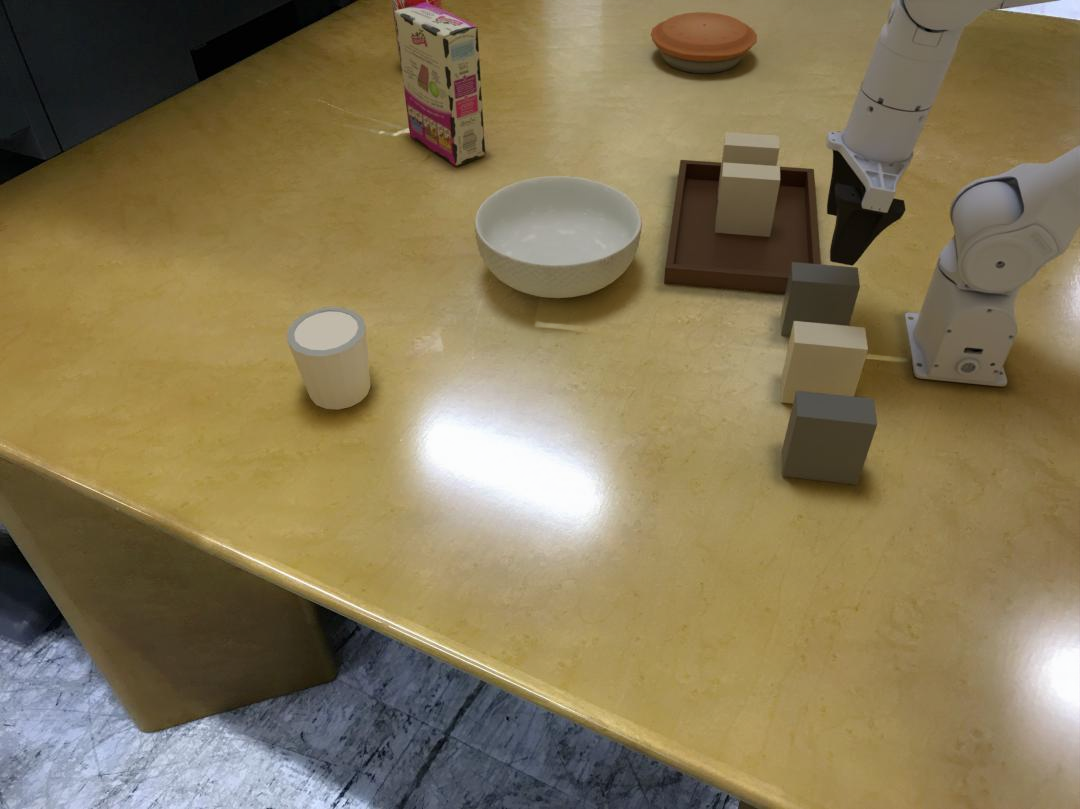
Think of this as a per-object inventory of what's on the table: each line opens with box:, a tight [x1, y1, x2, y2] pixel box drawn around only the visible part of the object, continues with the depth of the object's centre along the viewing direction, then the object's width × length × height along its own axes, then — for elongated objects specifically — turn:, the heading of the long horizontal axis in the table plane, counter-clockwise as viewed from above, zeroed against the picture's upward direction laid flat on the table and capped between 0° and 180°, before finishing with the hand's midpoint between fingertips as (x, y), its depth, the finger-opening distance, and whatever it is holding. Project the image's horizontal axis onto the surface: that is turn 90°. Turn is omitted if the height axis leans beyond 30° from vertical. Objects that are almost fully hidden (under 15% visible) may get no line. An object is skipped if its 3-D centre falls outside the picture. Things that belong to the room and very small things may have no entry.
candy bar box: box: [394, 2, 486, 167], centre depth 111 cm, size 11×5×16 cm, turn 39°
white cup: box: [286, 306, 372, 411], centre depth 81 cm, size 7×7×7 cm
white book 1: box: [717, 131, 781, 200], centre depth 103 cm, size 3×6×7 cm, turn 80°
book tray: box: [663, 159, 822, 295], centre depth 99 cm, size 23×16×3 cm
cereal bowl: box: [474, 175, 643, 299], centre depth 93 cm, size 17×17×7 cm
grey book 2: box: [781, 391, 878, 486], centre depth 72 cm, size 3×6×7 cm, turn 80°
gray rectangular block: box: [780, 262, 861, 337], centre depth 85 cm, size 3×6×7 cm, turn 80°
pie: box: [650, 11, 758, 74], centre depth 133 cm, size 15×16×5 cm
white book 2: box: [715, 162, 781, 237], centre depth 98 cm, size 3×6×7 cm, turn 80°
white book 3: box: [780, 321, 869, 405], centre depth 79 cm, size 3×6×7 cm, turn 80°
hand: (839, 237), depth 81 cm, fingers open, 7 cm apart
